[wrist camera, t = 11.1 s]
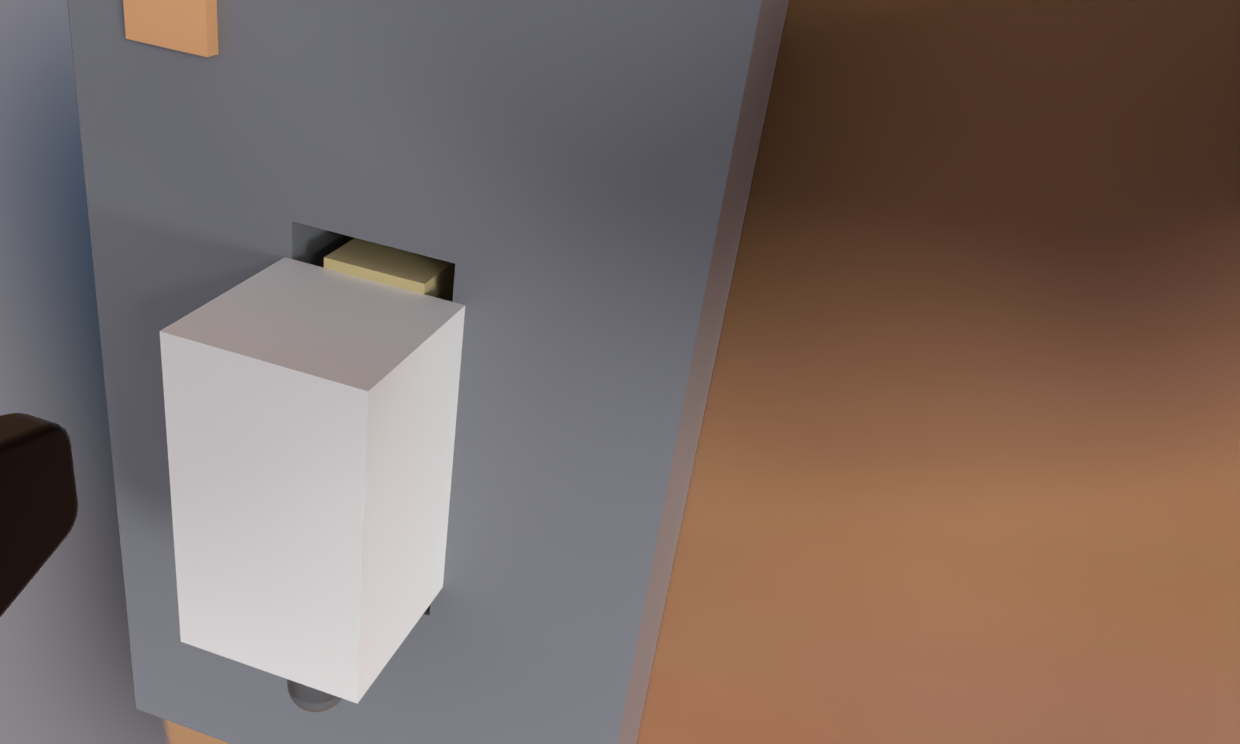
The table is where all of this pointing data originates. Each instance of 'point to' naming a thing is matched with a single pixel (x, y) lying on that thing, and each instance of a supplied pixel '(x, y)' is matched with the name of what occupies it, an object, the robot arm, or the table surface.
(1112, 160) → the table surface
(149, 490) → the socket
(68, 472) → the robot arm
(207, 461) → the plug
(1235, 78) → the table surface
